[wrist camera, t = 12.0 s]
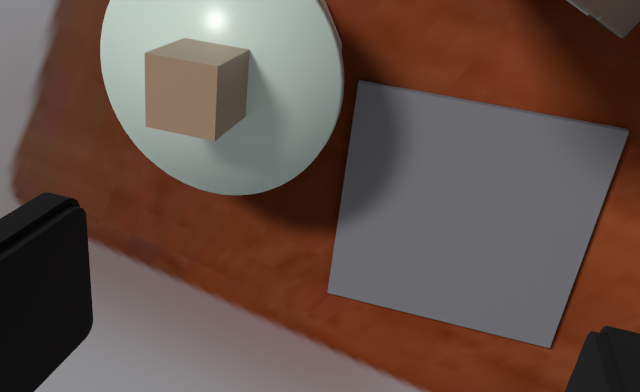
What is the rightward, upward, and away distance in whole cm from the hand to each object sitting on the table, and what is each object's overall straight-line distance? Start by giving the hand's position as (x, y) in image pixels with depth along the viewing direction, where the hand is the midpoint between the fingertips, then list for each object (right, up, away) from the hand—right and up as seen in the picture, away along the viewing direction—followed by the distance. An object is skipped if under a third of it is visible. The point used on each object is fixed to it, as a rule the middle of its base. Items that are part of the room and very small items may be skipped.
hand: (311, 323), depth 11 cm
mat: (+10, +1, +31) cm, 33 cm away
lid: (-6, +10, +25) cm, 27 cm away
